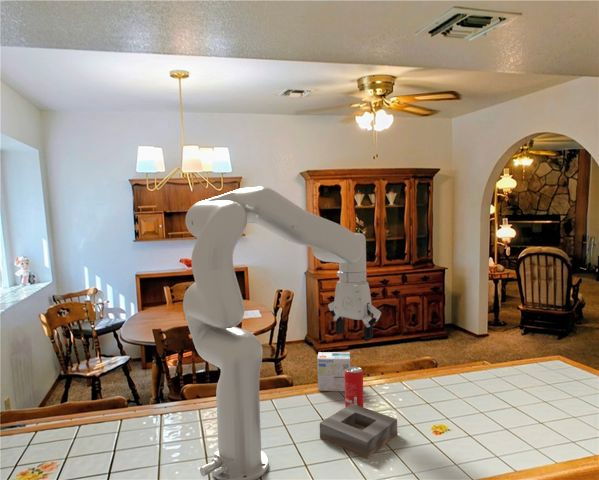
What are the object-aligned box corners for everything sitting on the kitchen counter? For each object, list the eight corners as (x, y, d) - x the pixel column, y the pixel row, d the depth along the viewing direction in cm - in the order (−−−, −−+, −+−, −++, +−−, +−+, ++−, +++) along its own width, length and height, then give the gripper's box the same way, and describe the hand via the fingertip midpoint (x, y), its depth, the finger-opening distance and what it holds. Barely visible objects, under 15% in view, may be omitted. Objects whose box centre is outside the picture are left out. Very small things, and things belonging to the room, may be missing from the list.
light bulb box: (350, 383, 142) (350, 351, 141) (351, 392, 135) (350, 358, 134) (318, 382, 143) (318, 351, 142) (317, 391, 136) (316, 358, 135)
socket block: (366, 458, 99) (366, 442, 99) (319, 438, 108) (319, 422, 108) (397, 434, 109) (397, 419, 109) (352, 417, 119) (351, 403, 118)
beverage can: (341, 408, 124) (341, 367, 123) (357, 404, 126) (356, 364, 126) (351, 415, 120) (350, 374, 119) (367, 411, 122) (366, 370, 121)
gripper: (320, 276, 123) (321, 334, 125) (371, 282, 112) (372, 346, 113) (336, 272, 129) (337, 328, 130) (386, 278, 117) (387, 339, 119)
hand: (353, 336), depth 122 cm, fingers open, 9 cm apart
